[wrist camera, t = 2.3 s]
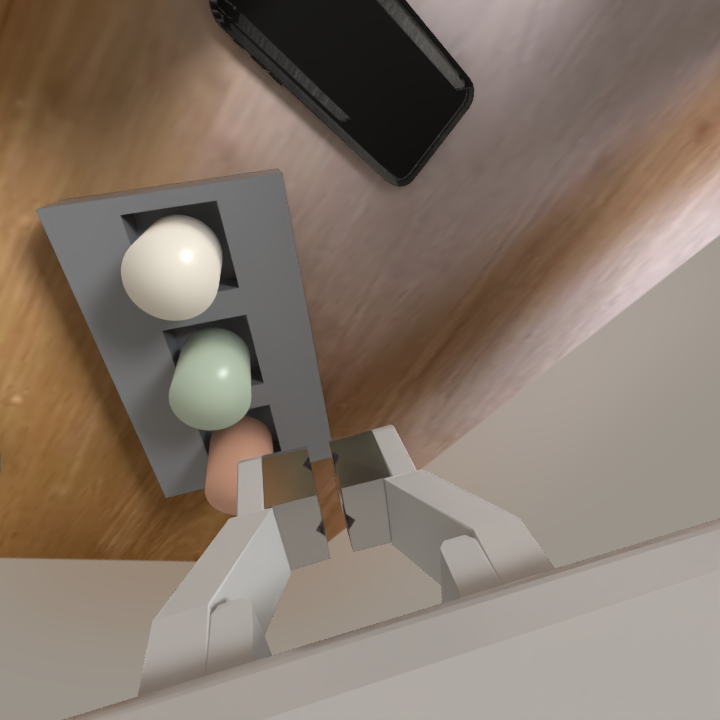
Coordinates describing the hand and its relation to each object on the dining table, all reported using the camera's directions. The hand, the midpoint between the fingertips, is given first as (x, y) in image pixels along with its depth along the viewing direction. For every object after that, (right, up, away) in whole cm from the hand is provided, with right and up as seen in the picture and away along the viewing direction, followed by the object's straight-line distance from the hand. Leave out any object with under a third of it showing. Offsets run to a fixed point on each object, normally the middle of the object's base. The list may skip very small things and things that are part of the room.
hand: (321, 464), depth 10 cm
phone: (0, +21, +17) cm, 27 cm away
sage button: (-9, +2, +19) cm, 21 cm away
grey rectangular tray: (-9, +4, +22) cm, 24 cm away
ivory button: (-9, +9, +16) cm, 20 cm away
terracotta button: (-8, -4, +22) cm, 24 cm away
